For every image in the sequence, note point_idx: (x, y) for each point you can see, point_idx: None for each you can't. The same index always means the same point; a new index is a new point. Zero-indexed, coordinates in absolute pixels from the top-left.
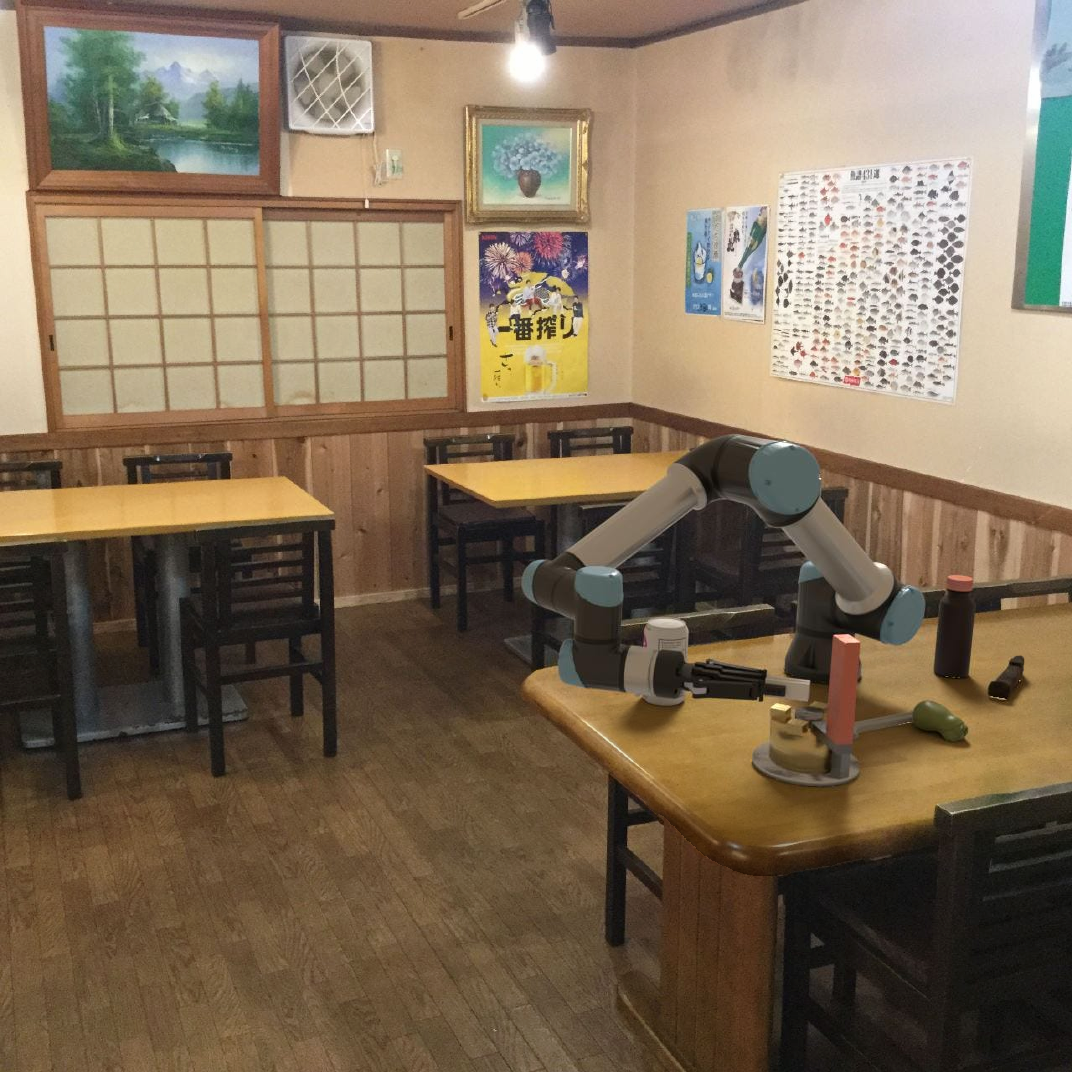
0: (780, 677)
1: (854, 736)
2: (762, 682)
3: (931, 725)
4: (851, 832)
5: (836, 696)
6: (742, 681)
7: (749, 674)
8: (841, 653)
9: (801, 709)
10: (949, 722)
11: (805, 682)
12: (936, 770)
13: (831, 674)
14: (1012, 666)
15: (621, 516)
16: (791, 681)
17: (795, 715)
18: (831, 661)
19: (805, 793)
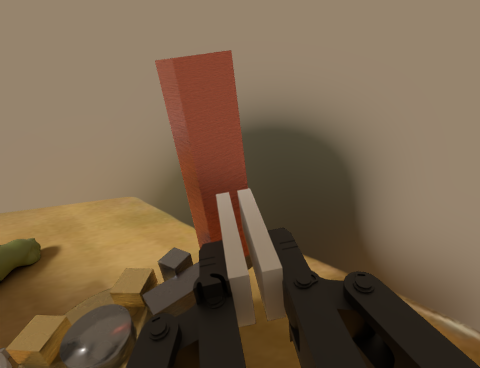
0: (228, 241)
1: (6, 353)
2: (311, 272)
3: (9, 267)
4: (341, 274)
5: (231, 184)
6: (360, 358)
7: (242, 355)
8: (224, 85)
9: (80, 352)
10: (21, 246)
11: (230, 199)
12: (126, 253)
13: (199, 160)
14: None
15: None
16: (249, 214)
17: (102, 366)
18: (189, 132)
19: (263, 360)
